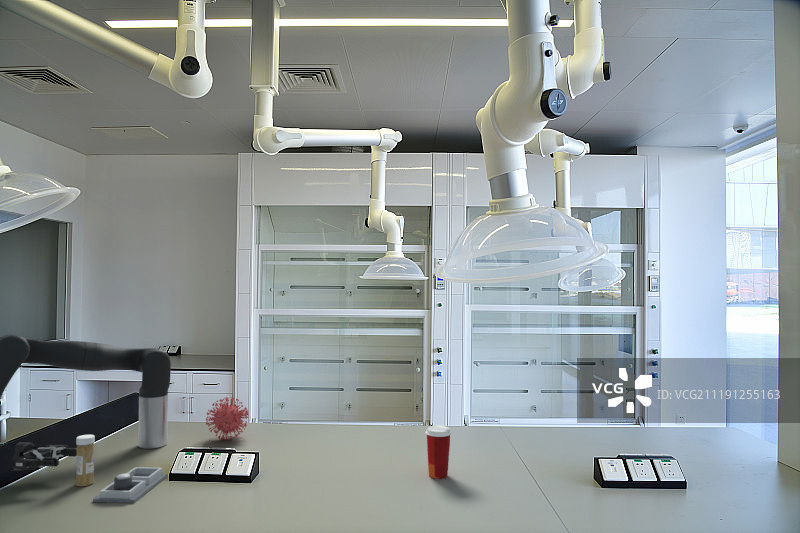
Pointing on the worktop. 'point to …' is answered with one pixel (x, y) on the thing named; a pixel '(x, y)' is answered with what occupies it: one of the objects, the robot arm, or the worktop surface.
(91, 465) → the sprinkles bottle
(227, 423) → the virus model
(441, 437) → the paper cup
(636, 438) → the worktop surface
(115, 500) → the grey flat tray
